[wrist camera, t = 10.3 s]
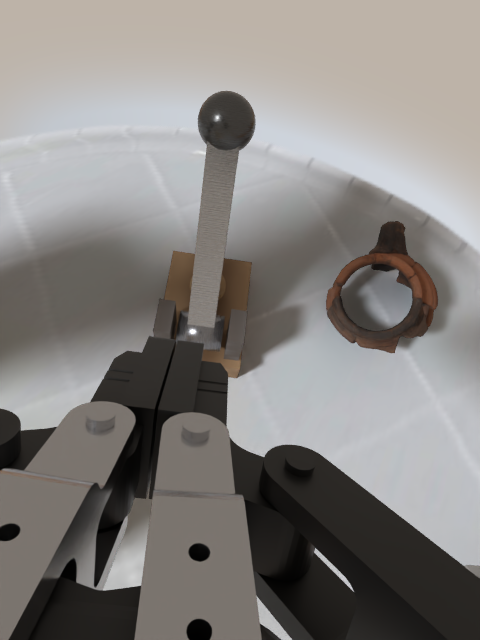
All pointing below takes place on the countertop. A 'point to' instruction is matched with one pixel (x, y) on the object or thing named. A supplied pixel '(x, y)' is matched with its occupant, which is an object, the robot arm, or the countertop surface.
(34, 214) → the countertop surface
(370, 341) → the pottery mug
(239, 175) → the countertop surface
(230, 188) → the lever
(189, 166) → the countertop surface
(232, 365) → the nutcracker base
